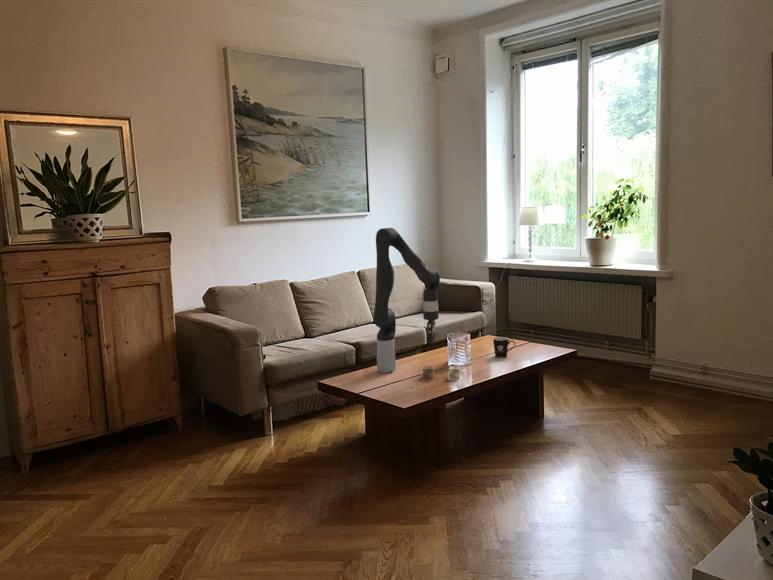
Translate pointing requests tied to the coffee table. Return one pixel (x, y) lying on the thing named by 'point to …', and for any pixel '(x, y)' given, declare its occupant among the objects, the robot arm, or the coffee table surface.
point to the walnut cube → (428, 372)
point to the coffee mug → (501, 346)
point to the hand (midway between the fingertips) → (431, 341)
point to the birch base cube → (454, 372)
